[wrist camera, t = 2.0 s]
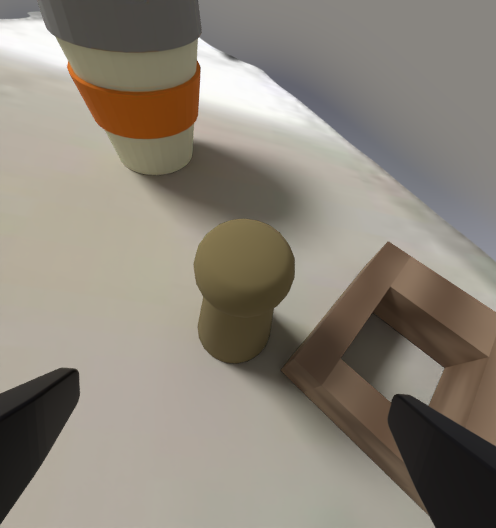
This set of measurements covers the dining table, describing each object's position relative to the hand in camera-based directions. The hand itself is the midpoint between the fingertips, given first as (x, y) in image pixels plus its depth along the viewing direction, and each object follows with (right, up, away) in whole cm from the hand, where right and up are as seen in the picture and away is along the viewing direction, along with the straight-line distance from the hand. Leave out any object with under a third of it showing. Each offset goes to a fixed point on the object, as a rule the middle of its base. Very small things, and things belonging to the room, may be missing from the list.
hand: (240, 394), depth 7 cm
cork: (-1, -2, +14) cm, 14 cm away
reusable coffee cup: (-11, +18, +25) cm, 33 cm away
